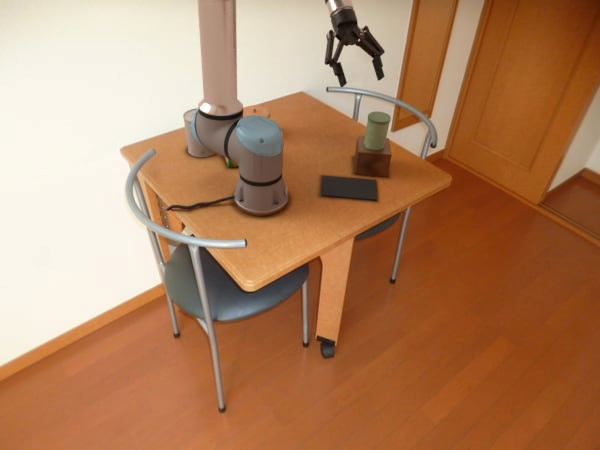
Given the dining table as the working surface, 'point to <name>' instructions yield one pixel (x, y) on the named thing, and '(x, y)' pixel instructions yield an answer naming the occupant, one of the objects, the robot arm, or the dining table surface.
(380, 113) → the green tin
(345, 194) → the rubber mat
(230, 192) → the dining table surface
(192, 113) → the grey cylinder
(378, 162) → the walnut block
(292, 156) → the dining table surface
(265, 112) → the trinket box
